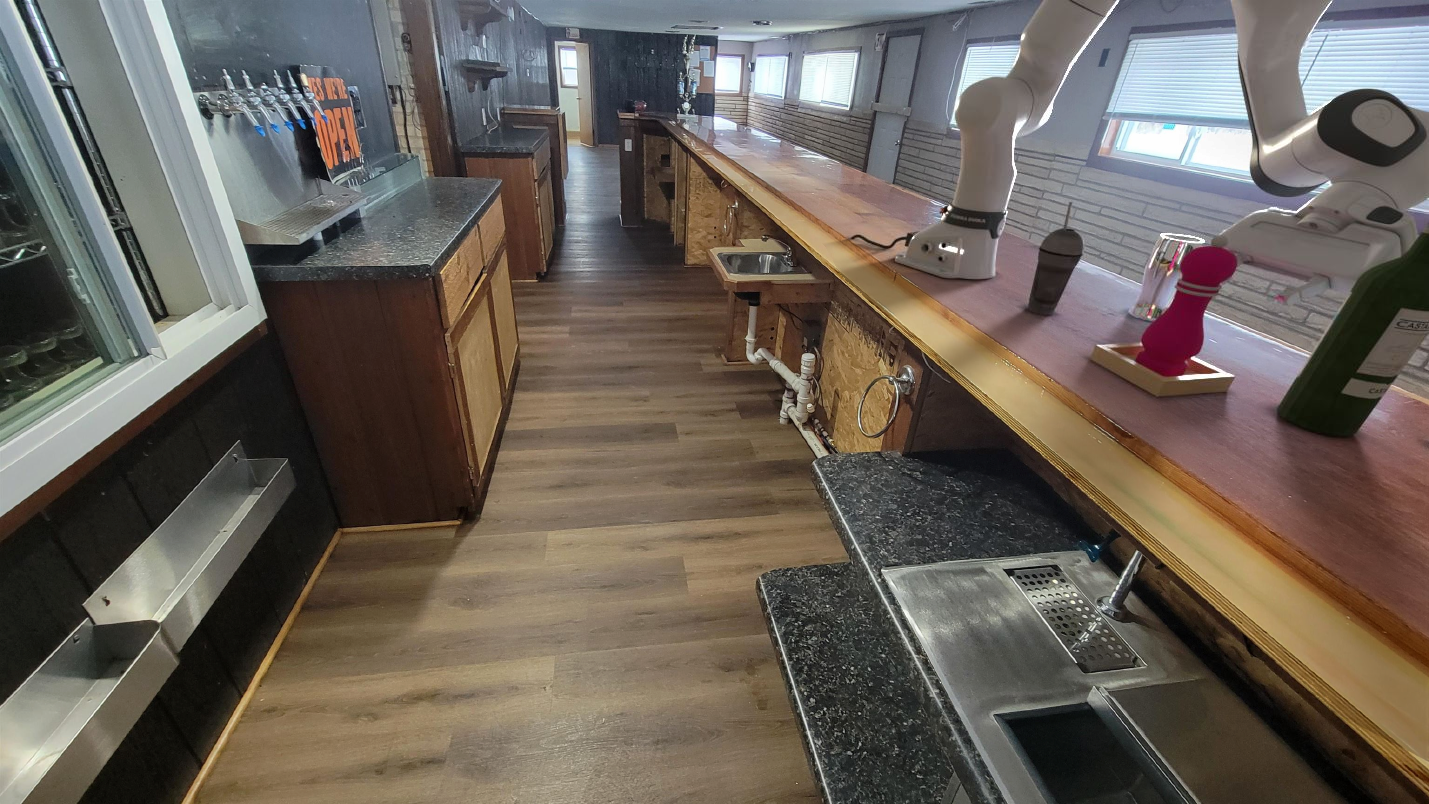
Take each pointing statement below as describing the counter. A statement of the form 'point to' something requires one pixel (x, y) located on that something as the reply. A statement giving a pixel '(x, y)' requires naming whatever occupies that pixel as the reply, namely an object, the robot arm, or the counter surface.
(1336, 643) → the counter surface
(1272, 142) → the robot arm
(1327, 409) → the wine bottle
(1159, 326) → the pepper mill
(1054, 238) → the beverage cup
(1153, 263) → the beer glass
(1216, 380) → the tray
